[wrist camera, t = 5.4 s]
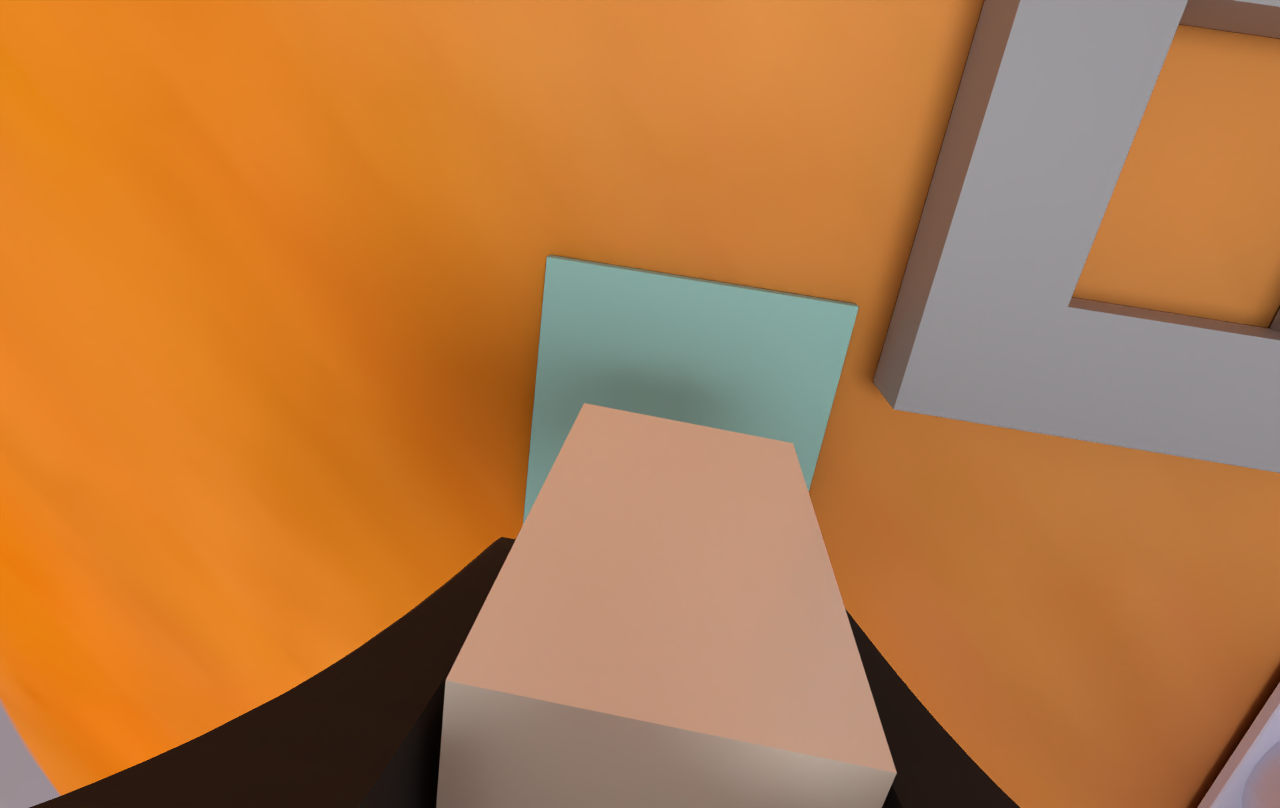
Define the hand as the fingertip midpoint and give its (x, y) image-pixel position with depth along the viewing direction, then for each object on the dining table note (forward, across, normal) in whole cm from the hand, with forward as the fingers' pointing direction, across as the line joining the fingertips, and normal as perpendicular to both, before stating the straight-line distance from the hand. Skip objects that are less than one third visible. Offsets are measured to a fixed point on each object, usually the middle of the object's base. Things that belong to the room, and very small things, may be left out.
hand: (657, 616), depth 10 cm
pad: (+8, 0, 0) cm, 8 cm away
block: (+3, 0, 0) cm, 3 cm away
